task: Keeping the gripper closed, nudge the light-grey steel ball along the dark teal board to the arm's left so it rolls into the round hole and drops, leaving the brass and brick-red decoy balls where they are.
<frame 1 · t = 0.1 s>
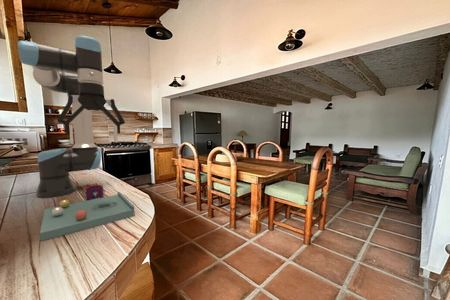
hand: (95, 143, 71), 28 cm above the kitchen counter, fingers open, 13 cm apart
mug: (95, 200, 91), on the kitchen counter
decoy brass: (64, 203, 76), point 4 cm above the kitchen counter, touching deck
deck: (89, 215, 74), on the kitchen counter
steel ball: (57, 211, 68), point 4 cm above the kitchen counter, touching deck
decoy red: (81, 214, 65), point 4 cm above the kitchen counter, touching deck
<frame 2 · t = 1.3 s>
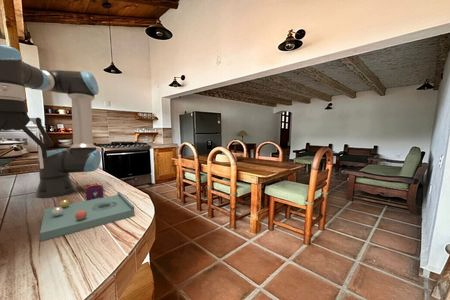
hand: (16, 170, 61), 20 cm above the kitchen counter, fingers open, 11 cm apart
nothing on the kitchen counter moved.
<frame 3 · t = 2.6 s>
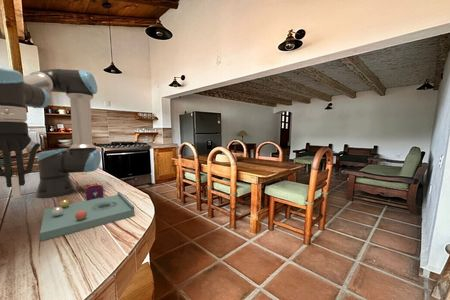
hand: (17, 196, 61), 12 cm above the kitchen counter, fingers closed
nothing on the kitchen counter moved.
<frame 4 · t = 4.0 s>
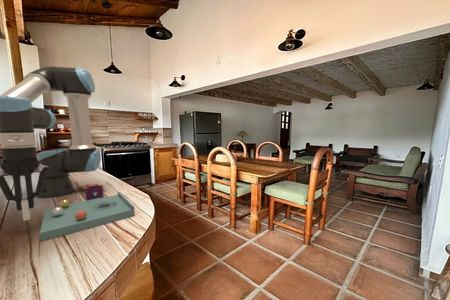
hand: (27, 218, 63), 4 cm above the kitchen counter, fingers closed
nothing on the kitchen counter moved.
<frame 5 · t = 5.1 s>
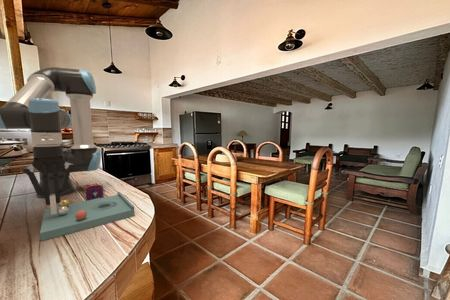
hand: (54, 212, 67), 4 cm above the kitchen counter, fingers closed
steel ball: (62, 210, 69), point 4 cm above the kitchen counter, tilted 47°, touching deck, gripper
everything else where it was.
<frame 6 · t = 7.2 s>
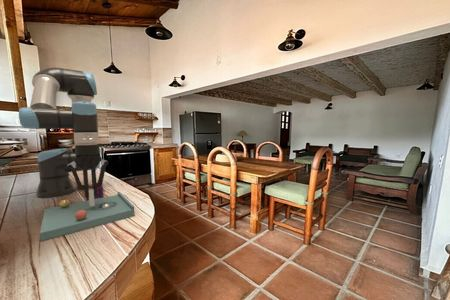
hand: (91, 205, 74), 4 cm above the kitchen counter, fingers closed
steel ball: (106, 207, 78), point 2 cm above the kitchen counter, tilted 160°
everything else where it was.
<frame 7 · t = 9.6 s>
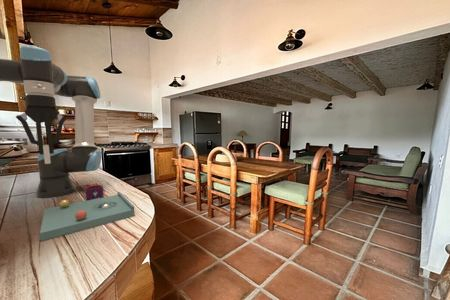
hand: (47, 163, 69), 21 cm above the kitchen counter, fingers closed
nothing on the kitchen counter moved.
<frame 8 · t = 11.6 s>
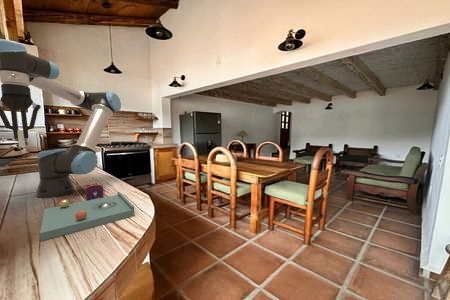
hand: (22, 147, 75), 26 cm above the kitchen counter, fingers closed
nothing on the kitchen counter moved.
at the end: steel ball 0.4 cm from the target spot, point 1.6 cm above the kitchen counter; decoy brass moved 0.0 cm from its start; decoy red moved 0.0 cm from its start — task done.
